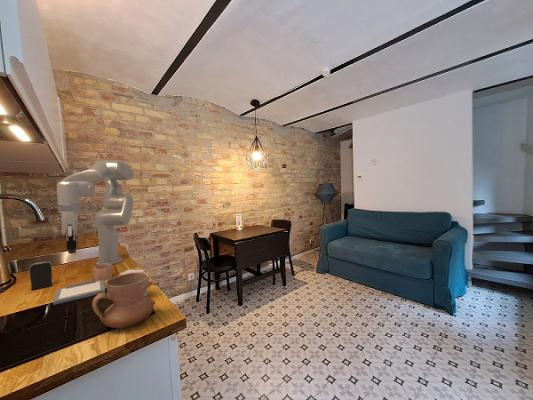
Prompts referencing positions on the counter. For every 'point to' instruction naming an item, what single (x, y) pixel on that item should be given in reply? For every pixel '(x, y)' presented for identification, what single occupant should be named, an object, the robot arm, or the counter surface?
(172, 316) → the counter surface
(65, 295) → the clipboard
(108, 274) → the pen cup
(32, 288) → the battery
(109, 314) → the ceramic jug
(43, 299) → the counter surface
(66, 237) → the marker
